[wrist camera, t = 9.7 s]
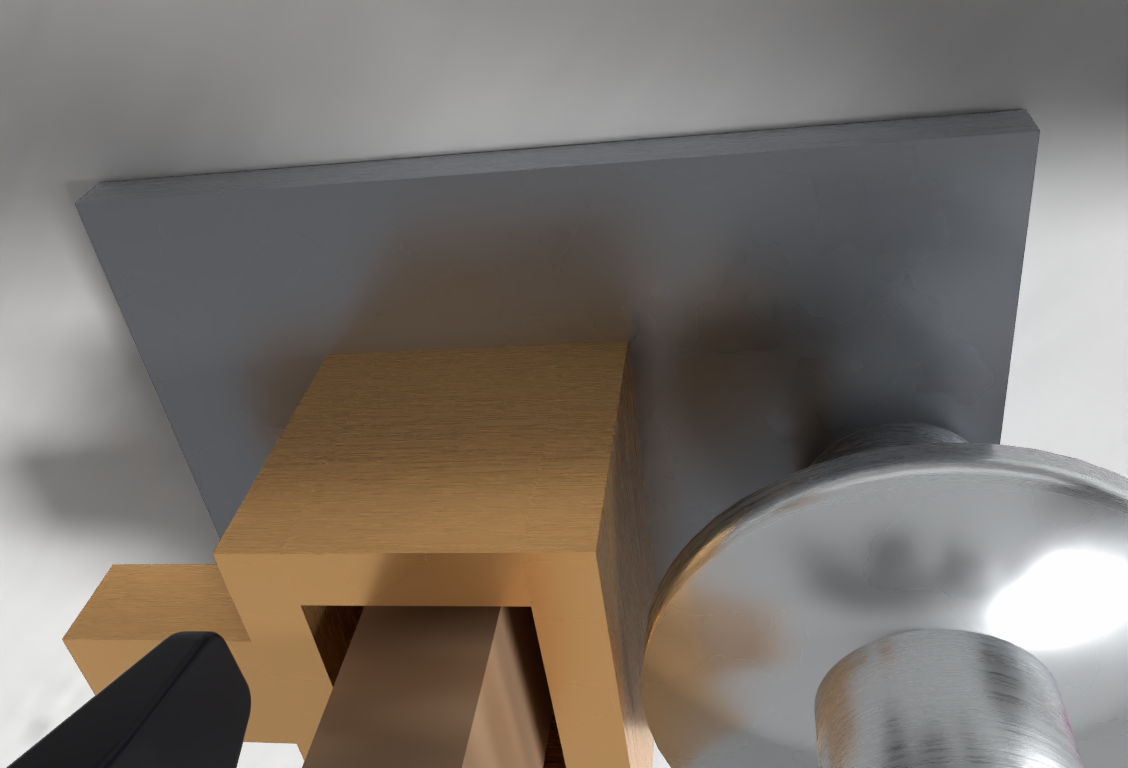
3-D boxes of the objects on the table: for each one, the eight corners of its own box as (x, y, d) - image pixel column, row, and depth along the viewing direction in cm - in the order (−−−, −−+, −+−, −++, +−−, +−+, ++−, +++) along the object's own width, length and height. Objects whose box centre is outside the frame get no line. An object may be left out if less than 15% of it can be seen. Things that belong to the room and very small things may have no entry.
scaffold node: (1214, 94, 18) (1557, 409, 10) (1078, 705, 26) (1210, 1105, 19) (99, 182, 21) (-227, 456, 14) (309, 688, 30) (175, 1016, 23)
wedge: (546, 419, 22) (438, 861, 14) (577, 570, 25) (500, 1019, 17) (435, 423, 23) (268, 853, 15) (475, 571, 25) (353, 1008, 17)
